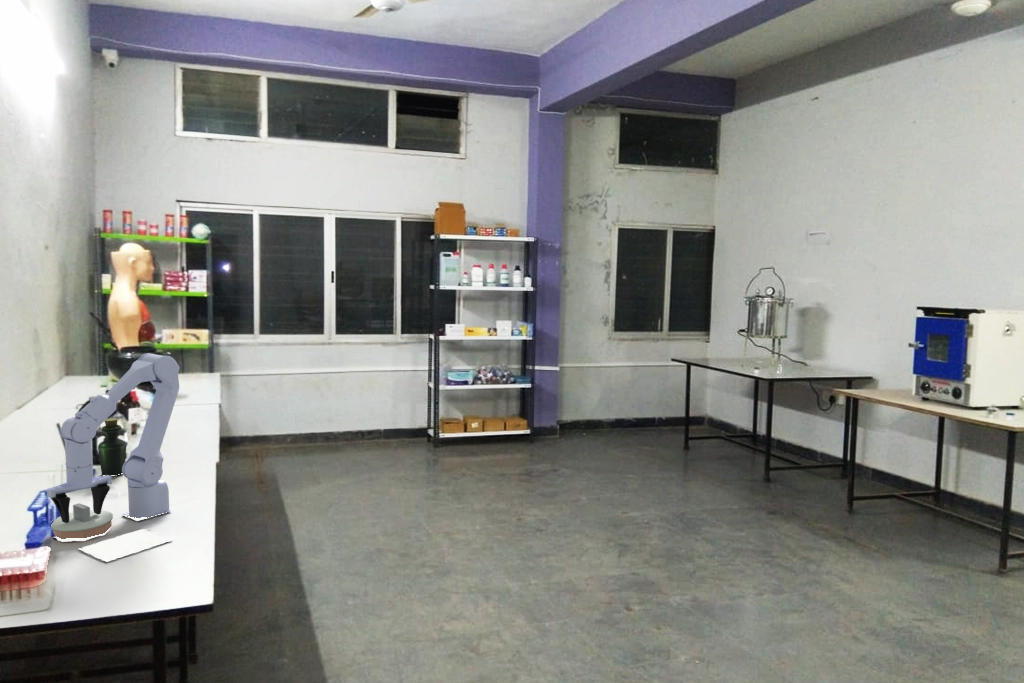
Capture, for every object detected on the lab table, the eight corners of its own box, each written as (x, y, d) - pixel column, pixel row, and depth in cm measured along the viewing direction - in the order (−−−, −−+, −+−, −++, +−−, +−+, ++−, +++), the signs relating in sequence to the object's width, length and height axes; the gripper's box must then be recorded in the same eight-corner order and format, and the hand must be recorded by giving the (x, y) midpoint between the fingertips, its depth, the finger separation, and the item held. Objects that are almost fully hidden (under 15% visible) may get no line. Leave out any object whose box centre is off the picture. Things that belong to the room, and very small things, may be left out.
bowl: (94, 521, 189) (94, 510, 188) (119, 531, 182) (118, 519, 182) (45, 535, 179) (44, 523, 178) (69, 546, 172) (68, 534, 172)
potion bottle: (101, 479, 224) (99, 423, 223) (96, 473, 231) (94, 418, 229) (130, 475, 230) (128, 420, 228) (124, 469, 236) (122, 415, 234)
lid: (95, 508, 190) (95, 493, 189) (123, 519, 182) (122, 504, 182) (39, 523, 178) (38, 508, 178) (66, 535, 171) (66, 519, 170)
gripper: (100, 456, 187) (102, 506, 188) (40, 469, 175) (42, 522, 176) (115, 461, 183) (117, 512, 184) (54, 474, 171) (56, 528, 172)
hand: (81, 517), depth 180 cm, fingers open, 7 cm apart
